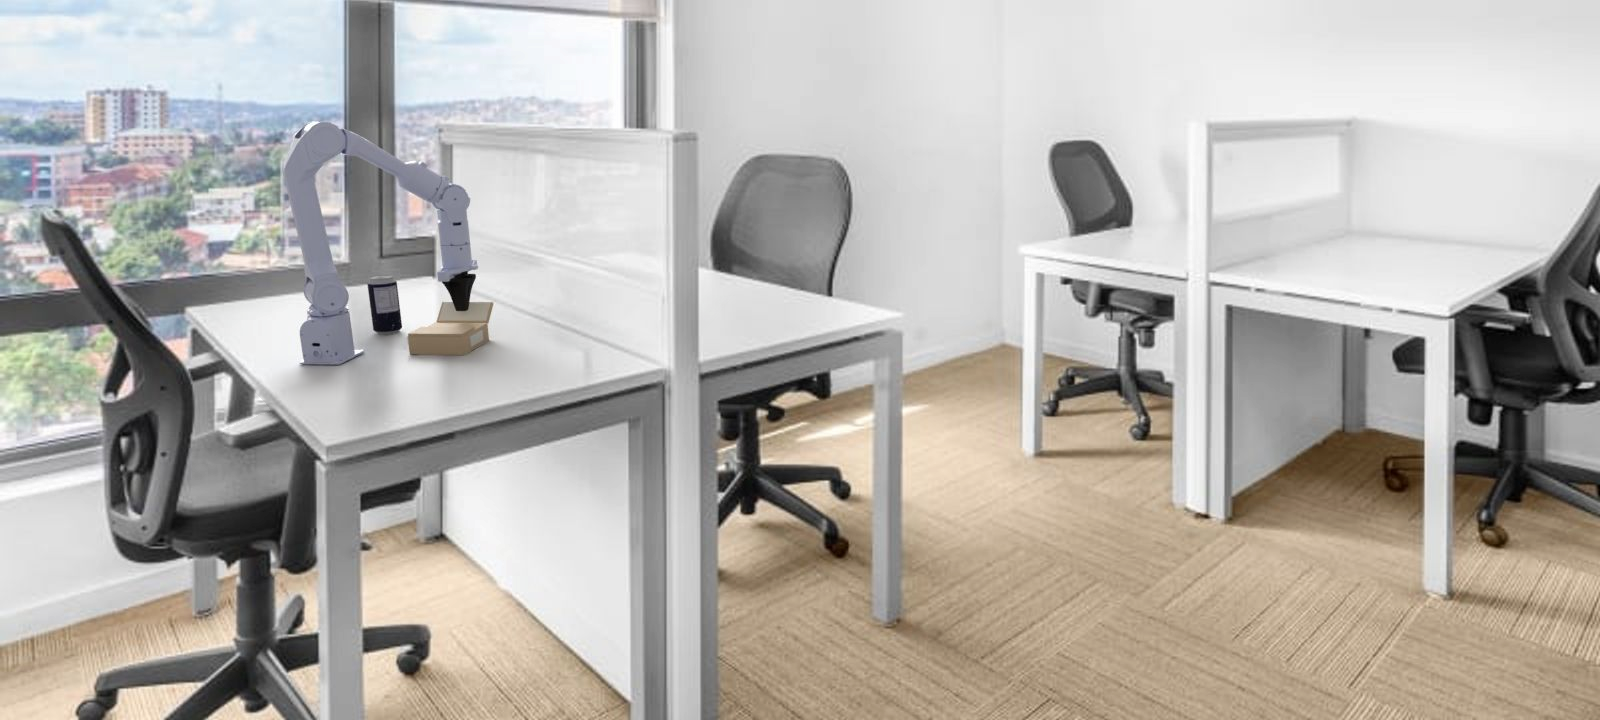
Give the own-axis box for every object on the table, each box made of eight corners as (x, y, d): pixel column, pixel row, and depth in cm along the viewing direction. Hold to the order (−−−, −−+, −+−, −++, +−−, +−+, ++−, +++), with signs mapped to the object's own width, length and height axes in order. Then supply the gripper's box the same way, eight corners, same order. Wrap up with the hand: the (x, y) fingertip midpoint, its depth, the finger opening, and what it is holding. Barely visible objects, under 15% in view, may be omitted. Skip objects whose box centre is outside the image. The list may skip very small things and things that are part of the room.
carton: (465, 354, 194) (463, 333, 193) (409, 354, 195) (407, 333, 194) (489, 340, 206) (487, 320, 204) (437, 339, 207) (434, 319, 206)
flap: (492, 302, 207) (493, 303, 208) (442, 301, 208) (443, 303, 209) (487, 321, 205) (488, 323, 205) (436, 321, 206) (437, 323, 206)
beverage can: (407, 329, 216) (400, 274, 213) (394, 335, 211) (387, 279, 208) (382, 329, 217) (375, 274, 214) (368, 335, 211) (361, 279, 208)
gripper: (459, 249, 195) (466, 318, 198) (488, 238, 209) (494, 303, 212) (424, 249, 195) (431, 318, 199) (455, 238, 209) (462, 303, 213)
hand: (462, 310), depth 206 cm, fingers closed
